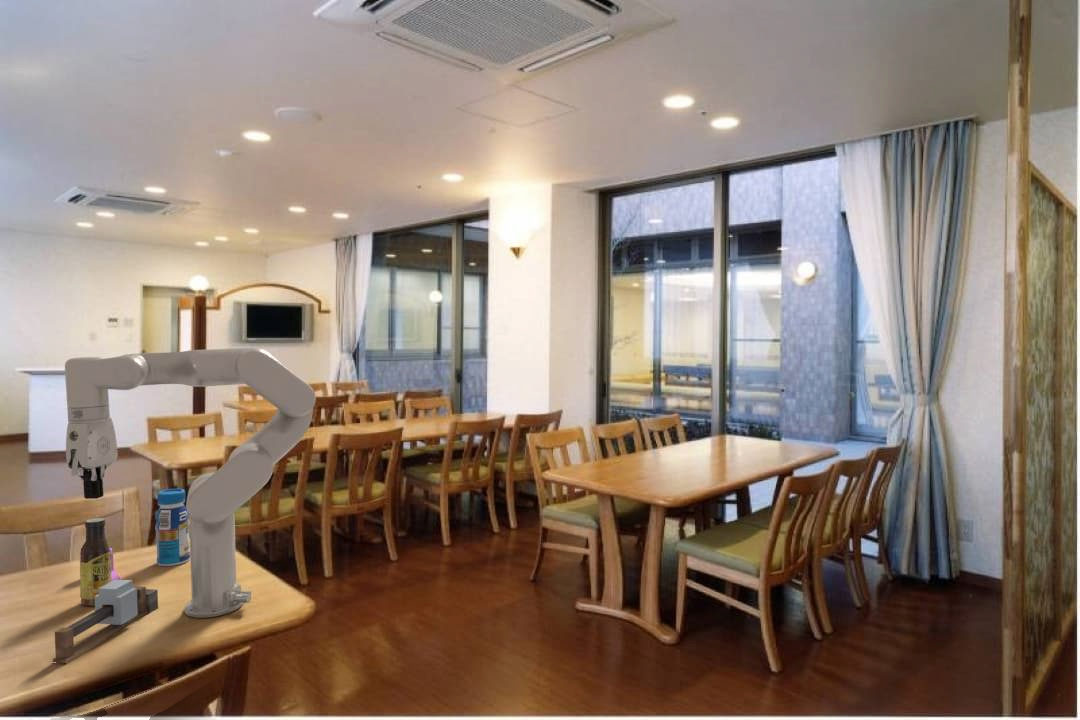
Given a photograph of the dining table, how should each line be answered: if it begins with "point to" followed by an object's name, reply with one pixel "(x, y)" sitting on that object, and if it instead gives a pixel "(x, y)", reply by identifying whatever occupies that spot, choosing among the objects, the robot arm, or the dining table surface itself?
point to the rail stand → (65, 636)
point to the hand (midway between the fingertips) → (94, 497)
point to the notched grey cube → (118, 601)
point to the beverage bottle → (172, 528)
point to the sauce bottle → (94, 561)
